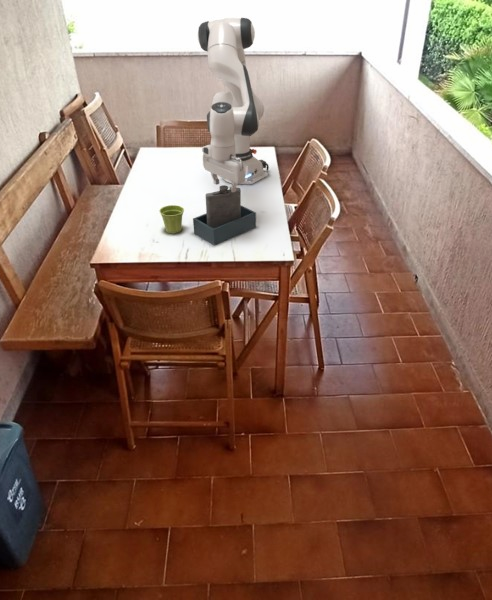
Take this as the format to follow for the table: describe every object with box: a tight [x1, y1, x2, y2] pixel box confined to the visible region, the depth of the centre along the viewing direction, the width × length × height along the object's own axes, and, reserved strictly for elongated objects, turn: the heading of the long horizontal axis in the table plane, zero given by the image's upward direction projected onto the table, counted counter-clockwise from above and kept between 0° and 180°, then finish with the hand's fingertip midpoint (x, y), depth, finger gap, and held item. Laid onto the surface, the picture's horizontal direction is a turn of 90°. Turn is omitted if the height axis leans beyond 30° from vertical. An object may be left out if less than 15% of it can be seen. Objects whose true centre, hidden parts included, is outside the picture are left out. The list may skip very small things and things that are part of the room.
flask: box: [205, 184, 242, 228], centre depth 187 cm, size 4×14×18 cm, turn 118°
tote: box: [192, 205, 257, 246], centre depth 191 cm, size 22×13×7 cm, turn 133°
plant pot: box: [158, 204, 185, 234], centre depth 190 cm, size 9×9×9 cm
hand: (224, 187), depth 183 cm, fingers open, 8 cm apart
